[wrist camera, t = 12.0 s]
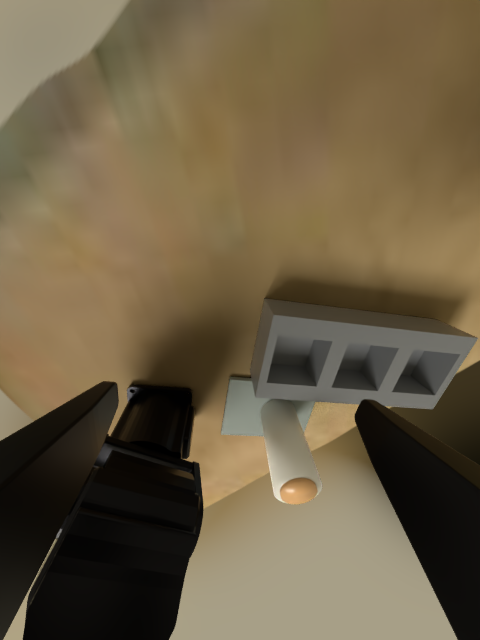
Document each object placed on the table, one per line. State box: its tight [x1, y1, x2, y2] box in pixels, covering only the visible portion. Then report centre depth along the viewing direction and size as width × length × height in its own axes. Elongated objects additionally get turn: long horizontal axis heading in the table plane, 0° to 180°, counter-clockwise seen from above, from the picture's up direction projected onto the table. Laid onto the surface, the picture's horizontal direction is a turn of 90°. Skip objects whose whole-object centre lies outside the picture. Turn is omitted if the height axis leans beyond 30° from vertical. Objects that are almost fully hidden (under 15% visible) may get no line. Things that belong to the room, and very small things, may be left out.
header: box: [250, 298, 478, 409], centre depth 21 cm, size 18×8×4 cm, turn 82°
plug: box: [260, 399, 322, 504], centre depth 22 cm, size 4×4×8 cm
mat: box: [221, 377, 315, 436], centre depth 26 cm, size 10×8×1 cm
